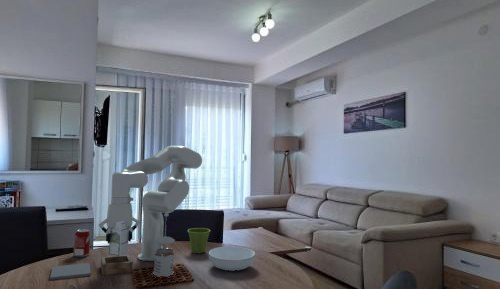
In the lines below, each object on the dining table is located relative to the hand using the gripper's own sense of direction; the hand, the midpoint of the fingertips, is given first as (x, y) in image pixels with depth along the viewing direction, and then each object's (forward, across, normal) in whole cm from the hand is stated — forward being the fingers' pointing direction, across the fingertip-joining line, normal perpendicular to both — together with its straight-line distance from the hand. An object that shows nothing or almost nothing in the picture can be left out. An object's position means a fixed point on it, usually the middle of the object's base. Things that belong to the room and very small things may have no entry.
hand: (119, 241), depth 143 cm
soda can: (+12, +14, -25) cm, 31 cm away
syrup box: (+5, 0, 0) cm, 5 cm away
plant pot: (+13, -40, -13) cm, 44 cm away
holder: (+11, +1, +1) cm, 11 cm away
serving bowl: (+13, -46, +16) cm, 50 cm away
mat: (+11, +18, -1) cm, 21 cm away
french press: (+12, -16, +13) cm, 24 cm away
